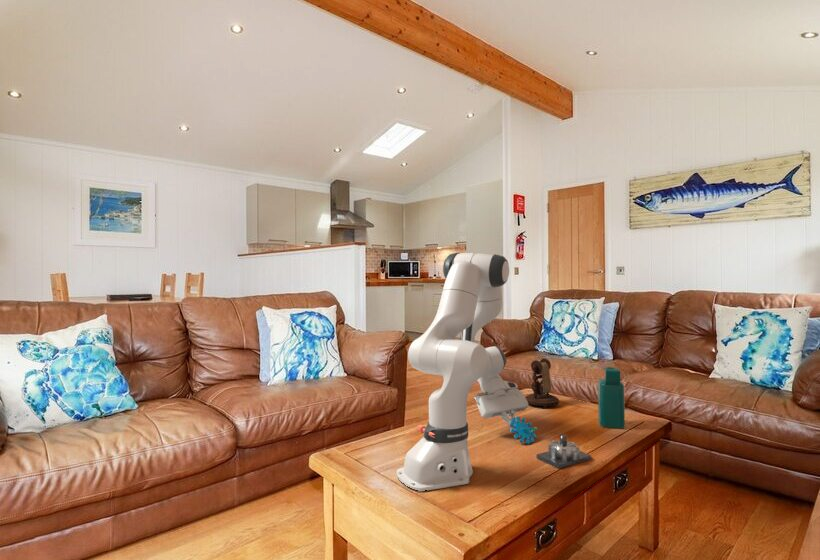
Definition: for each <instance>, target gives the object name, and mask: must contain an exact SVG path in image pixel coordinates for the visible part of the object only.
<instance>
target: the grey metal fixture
mask: <svg viewBox="0 0 820 560" xmlns="http://www.w3.org/2000/svg"><path fill="white" fill-rule="evenodd" d="M567 436H568V435H567V434H560V436H559V440H554V439H553V440H551V441H550V442H551V443H550V442H548V445H547V447H548V451H543V452H541V453H540V452H539V453H537V454H536V459H537V460H539V461H542V462H544V463H546V464H548V465H549V466H551V467H553V468H556V469H558V470H560V469H563V468H567V467H570V466H573V465H577V464H579V463H580V464H581V463H583V462H586V461H590V460H592V455H591V454H589V453H586V452H584V451H581V450H580V446H579V445H576V442H573V441H570V442H569V441H568V437H567Z"/></svg>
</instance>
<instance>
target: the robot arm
mask: <svg viewBox="0 0 820 560" xmlns="http://www.w3.org/2000/svg"><path fill="white" fill-rule="evenodd" d="M442 272H443V276H444V279H445V281H444V285H443V288H442V291H441V296H440V301H439V304H438V308H437V312H436V315H434V316H435V317H434V319H433V320H432V323H431V324H430V325H429V327H428V328H427V329H426V330H425V331H424V333H423V334H421V335H420V336H419V337H417V338H416V339H414V340H413V341H412V342H411V344H410V346H409V347H408V352H407V359H408V362H409V364H410V366H411V368H412V369H415V370H416V371H419V372H422V373H423V374H428V375H433V376H441V377H443V381H442V386H441V387H440V388H438V389H436V390H434V391H433V392H432V393H431V394H430V395H429V398H428V422H427V424H426V426H424V425H422V424H419V425H417V428H416V430H417V432H420V433H421V434H423V437H421V439H419V440H418V441H417V443H416V444H414V445H413V447H411V448H410V449H409V450H408V451H407V452H406V454H405V457H404V462H403V463H404V464H403V466H402V467H400V468H397V469H396V474H397V476H396V478H397V477H398V478H399V480H400V481H401V482H402V483H404V484H405V485H406V486H405V485H404V484H403V485H404V486H405V487H407V486H408V487H410V488H412V489H415V490H418V491H417V492H426V491H425V490H427V491H432V490H438V489H444V488H450V487H457V486H461V485H463V486H464V485H467V484H469V483H470V480H471V479H470V478H471V477H472V476H473V473H474V470H473V467H472V463H471V459H470V454H469V445H468V438H469V424H468V421H467V419H468V418H467V414H468V413H467V412H468V411H467V408H468V397H469V393H470V390H471V388H472V386H473V385H474V384H475V383H476V381H477V383H478V384H479V387H480V390H481V393H476V394H475V395H474V400H475V402H476V404H477V405H476V406H477V408H478V411H479V414H480V416H481V417H482V418H484V419H489V418H495V417H499V416H500V417H501V419H502V420H504V421H505V422H506V424H507V425H508V426H509V424H510V423H511V422H512V421H511V420H512V419H513V418H515V419H516V413H518V412H524V411H525V410H527V408H528V407H529V403H528V402H527V400H526V398H525V395H524V394H523V392H522V391H521V390H520V389H518V387H519V385H518V384H517V383H516V382H513V381H508V380H505V379H504V380H503V378H502V377H501V376H500V373H502V371H504V369H505V366H506V364H507V357H506V355H505V353H504V351H503V350H502V349H500V348H499V347H498V346H496V345H494V346H488V347H484V346H483V345H482V344H480V343H477V342H475V338H476V335H477V334H478V332H479V331H480V330H481V329H482V328H483V327H484V326H486V325H487V324H488V323H490V322H492V321H494V320H495V319H496V318H497V317H498V316H499V315H500V313H501V312H502V308H503V293H502V286H503V285H505V284H506V283H507V281H508V280H509V276H510V266H509V262H508V259H507V258H506V257H505V256H503V255H499V254H489V253H480V252H479V253H478V252H463V253H462V252H461V253H460V252H454V253H450V254H448V256H447V257H445V259H444V261H443V266H442ZM458 335H460V339H456V338H457V336H458ZM516 423H517V420H516ZM513 424H514V423H513ZM398 478H397V479H398ZM399 480H398V481H399ZM401 482H400V483H401ZM402 483H401V484H402ZM408 487H407V488H408ZM410 488H409V489H410ZM412 489H411V490H412ZM415 490H414V491H415Z"/></svg>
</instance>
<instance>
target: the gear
mask: <svg viewBox="0 0 820 560" xmlns="http://www.w3.org/2000/svg"><path fill="white" fill-rule="evenodd" d="M516 420H517V423H516ZM520 420H521V421H520ZM511 421H512V422H511V423H510V424H509V425H508V426H510V427H511V428H510V429H509V432H510V433H511V434H512V433H515V434H514V435H513V437H514V439H516V440H517V439H518V438H520V439H519V442H520V443H521V444H523V443H524V442H525V444H526V445H530V444H531V443H534V442H535V438H536V437H537V434H536V433H535V432H536V430H538V428H537V426H534V427H531V426H532V423H531V422H530V421H528V422H527V423H526V421H527V419H526V418H525V417H522V418H521V417H520V416H518V415H516V416H515V418H513V419H512V420H511ZM513 423H514V424H513ZM525 440H526V441H525Z"/></svg>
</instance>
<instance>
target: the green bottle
mask: <svg viewBox="0 0 820 560" xmlns="http://www.w3.org/2000/svg"><path fill="white" fill-rule="evenodd" d="M602 369H603V371H604V373H605V377H602V378H600V379H598V381H597V415H598V417H597V419H598V423H599V426H600V427H602V426H603V427H602V428H604V427H611V428H610V429H615V428H623V429H624V428H625V427H626V426H625V425H626V423H625V420H626V418H625V416H626V415H625V409H626V408H625V407H626V406H625V405H626V404H625V385H624V383H623V382H622V381H621V370H620V369H619V368H617V367H613V366H605V367H603V368H602Z"/></svg>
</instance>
